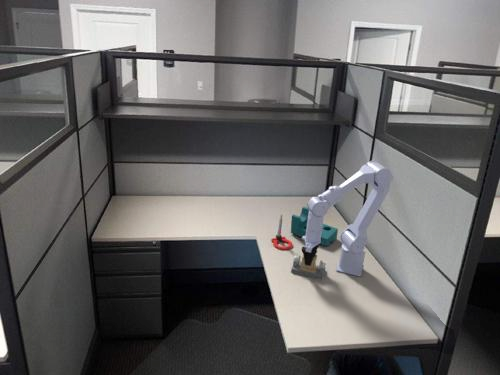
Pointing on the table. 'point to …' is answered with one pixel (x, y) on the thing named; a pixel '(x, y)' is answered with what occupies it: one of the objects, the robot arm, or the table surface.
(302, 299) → the table surface
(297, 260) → the stand
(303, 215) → the teal l-shaped bracket
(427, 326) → the table surface
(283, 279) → the table surface
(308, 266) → the coupling block
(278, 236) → the tow hook
